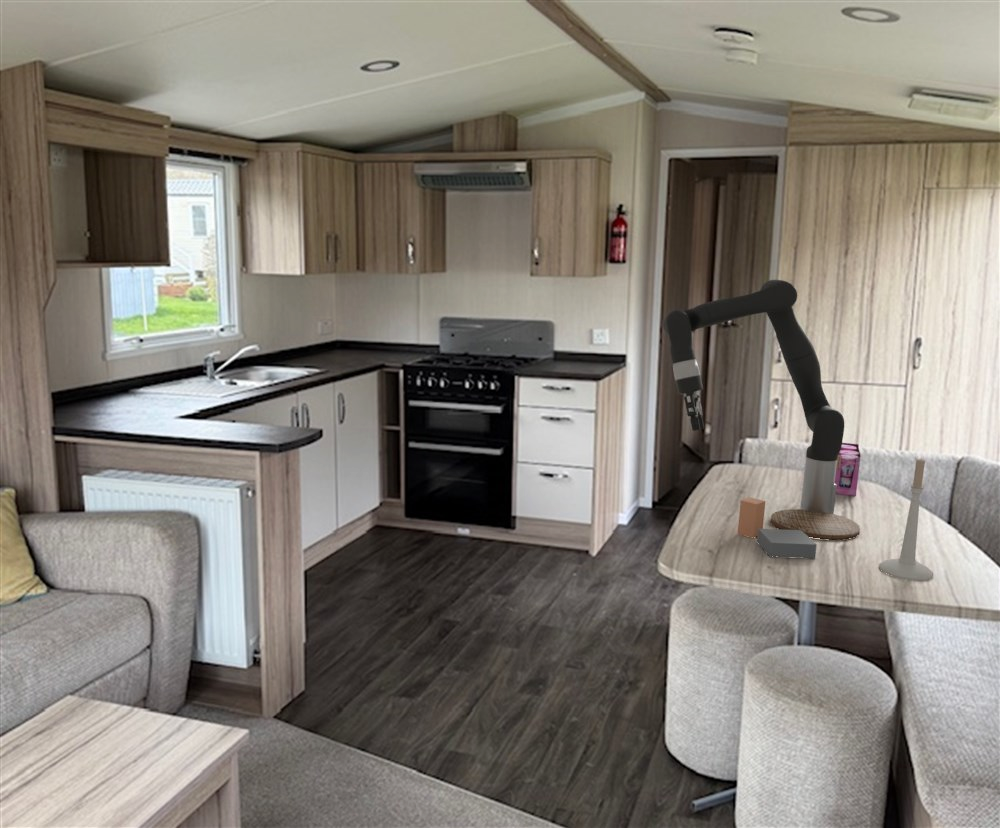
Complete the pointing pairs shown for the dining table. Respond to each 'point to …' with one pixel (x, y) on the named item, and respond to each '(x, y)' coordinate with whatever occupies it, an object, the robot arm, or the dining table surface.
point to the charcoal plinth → (786, 543)
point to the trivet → (816, 524)
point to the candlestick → (910, 538)
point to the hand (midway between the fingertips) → (698, 429)
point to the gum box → (847, 469)
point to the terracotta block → (751, 516)
